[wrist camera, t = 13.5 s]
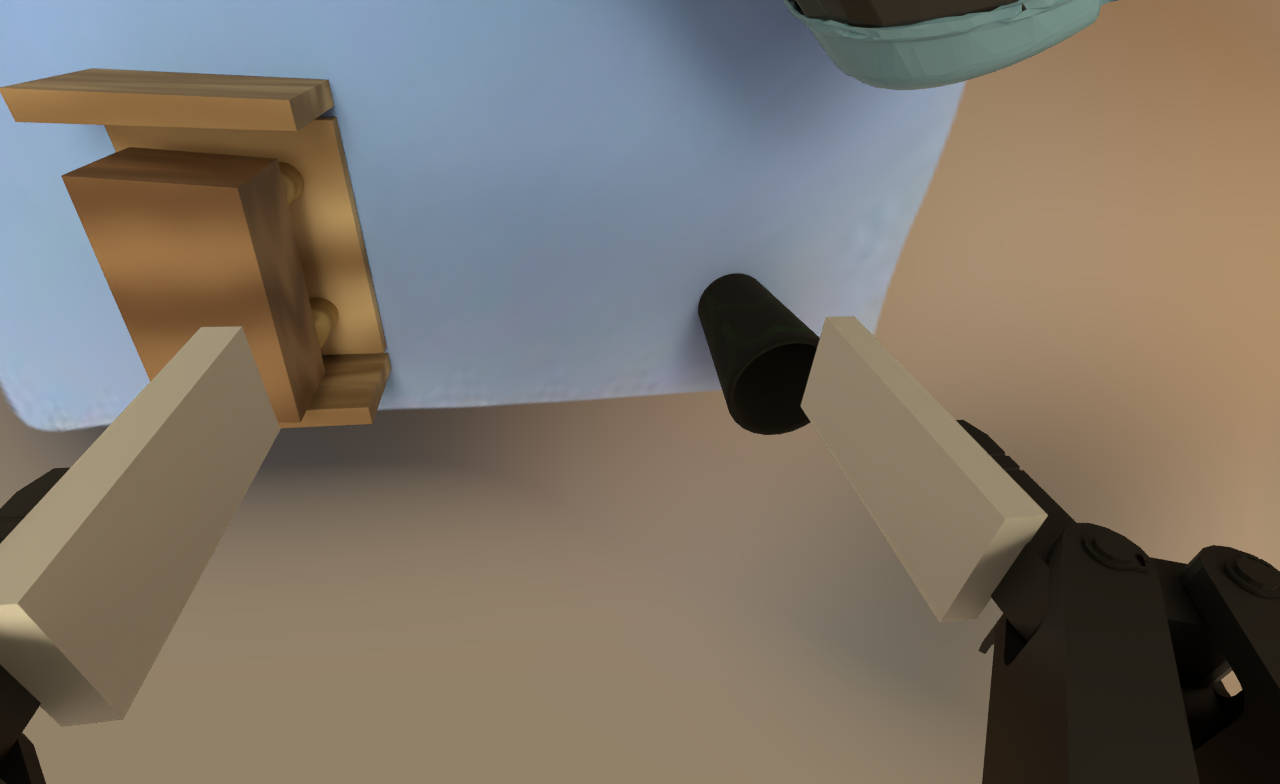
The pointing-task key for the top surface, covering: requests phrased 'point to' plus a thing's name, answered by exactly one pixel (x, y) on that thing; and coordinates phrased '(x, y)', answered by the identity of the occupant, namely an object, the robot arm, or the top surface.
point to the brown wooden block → (203, 260)
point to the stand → (312, 177)
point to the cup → (757, 354)
